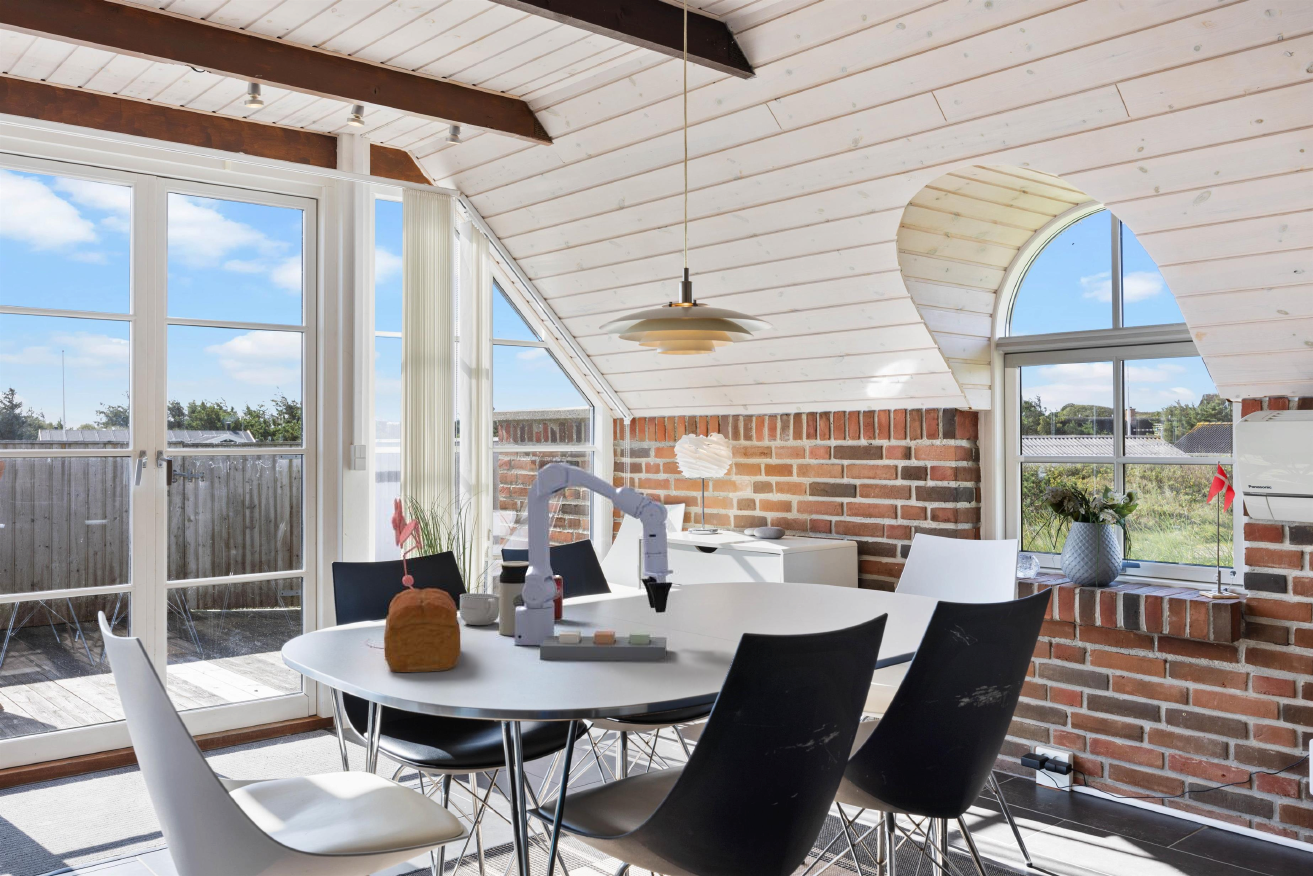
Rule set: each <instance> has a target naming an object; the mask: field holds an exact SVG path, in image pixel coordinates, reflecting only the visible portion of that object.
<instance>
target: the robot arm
mask: <svg viewBox="0 0 1313 876" xmlns="http://www.w3.org/2000/svg"><path fill="white" fill-rule="evenodd" d="M569 487H583V488H585V489H587V490H590V491H591V492H594V493H597V494H598V495H600V496H601V497H602V496H603V497H604V498H606V499H609V500H611V502H612V504H613V507H614V508H615V509H616V510H619V511H620V512H622V513H624V514H627V515H628V516H630V517H632V518H634V519H636V520H638V519H639V520H640V522H641V523H642V531H643V532H642V549H643V576H646V577H647V578H642V579H641V582H642V583H643V586H644V587H645V592H646V595H647V599H648V605H649V606H650V609H654V611H655V613H660V614H661V613H665V612H666V609H667V603H668V597H669V593H670V590H671V588H672V586H673V582H671V581H668V582H667V579H666V578H667V576H668V575H670V574H674V570H673V569H669V564H668V563H669V559H668V538H667V537H668V534H667V526H666V522H665V521H666V520H667V519H668V510H667V507H666V506H665V505H664V504H663V503H662V502H660V501H659V500H653V497H651V496H646V495H643V494H641V493H640V492H638V491H635V489H636V488H635V487H633V486H626V485H625V486H623V485H622V486H621V487H616V486H614V485H613V484H611V483H609V482H607V481H605V480H603V478H601V477H598V476H597V475H595V474H592V473H591V472H589V471H587V470H585V469H583V468H581V467H579V466H576V465H572V464H571V463H568V462H565V461H564V462H549V463H548V464H546V465H545V466H543V467H542V468H541V469H540V470H538V471H537V475H536V478H535V480H534V481H533V483H532V484H531V486H530V488H529V490H528V491H527V492H528V493H527V538H528V539H527V541H528V544H527V545H528V546H527V547H528V562H529V567H528V570H527V573H526V576H525V585H524V587H523V589H522V598H523V600H524V602H525V606H517V607H516V611H515V636H514V643H513V645H514V646H540V645H541V644H542V643H543V641H544V640H545V639H546V637H547V636H555V622H554V602H553V600H552V599H553V598H554V597H555V595H556V593H557V586H556V583H555V581H554V579H553V575H554V571H553V570H552V567H551V555H550V554H551V552H550V551H551V547H550V545H551V544H550V543H551V542H550V501H551V500H552V498H553V499H554V496H556V495H557V494H558V493H559V492H561V491H563V490H565V489H567V488H569Z"/></svg>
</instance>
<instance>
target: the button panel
mask: <svg viewBox="0 0 1313 876" xmlns="http://www.w3.org/2000/svg"><path fill="white" fill-rule="evenodd" d="M666 659H667V637H666V636H665V637H664V636H650V644H630V636H615V644H597V643H594V635H593V636H591V635H590V636H589V635H588V636H586V635H585V636H583V635H581V642H580V643H559V635H554V636H547V637H546V639H545V640H544V641H543V643H542V644H541V645H539V660H551V661H552V660H555V661H556V660H567V661H639V662H640V661H642V662H643V661H645V662H647V661H650V662H654V661H656V662H658V661H660V662H662V661H663V662H665V661H666Z"/></svg>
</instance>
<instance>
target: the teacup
mask: <svg viewBox="0 0 1313 876" xmlns="http://www.w3.org/2000/svg"><path fill="white" fill-rule="evenodd" d="M459 615H460V616H459V617H460V618H461V620H463V622H465V624H466V625H472V626H490V625H492V624H494V622H495V621H497V619H499V594H495V593H485V592H484V593H483V592H482V593H479V592H477V593H476V592H475V593H474V592H472V593H471V592H470V593H469V592H468V593H461V594H460V595H459Z"/></svg>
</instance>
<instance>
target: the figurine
mask: <svg viewBox="0 0 1313 876" xmlns="http://www.w3.org/2000/svg"><path fill="white" fill-rule="evenodd" d="M393 502H394V503H393V504H394V506H393V508H394V513H393V515H392V517H391V525H392V529H393V531H395V532H394V534H395V535H394V537H395V539H394V540H395V545H396V547H399V546H400V547H399V548H400V549H401V550H403V549H404V543H405V542H406V541H407V540H408V539H409V537H410V536H411V537H412V538H413V540H414V541H415V543H416V544H415V545H414V546H412V547H411V548H410V549H408V550H406V551H405V552H404V553H403V555H402V559H403V567H404V573H405V574H404V576H403V578H402V584H403V585H404V586H405V587H409V589H415V588H414V587H413V586H412V585H413V584H414V578H413V576H412V575H410V574H408V571H407V563H406V562H407V561H406V556H407V554H408V553H410V552H412V551H413V550H415V549H416V548H417V547H418V549H420V550H421V551H422V550H423V544H422V540H421V531H420V521H419V520H416V519H415V518H413V519H412V520H411V521H410V522H408V523H407V522H406V519H405V518H406V517H405V516H404V515H403V514H404V513H403V503H402V502H403V501H402V499H401V498H398V499H397V497H394V500H393ZM414 531H415V534H416V535H415V534H414ZM416 537H417V538H416ZM367 641H370V638H368V639H367ZM363 644H365V645H366V646H368V647H369V648H371V649H372V648H373V649H374V648H375V649H378V647H377V646H373V645H369V644H367V643H363ZM379 649H382V650H385V649H384V647H379Z"/></svg>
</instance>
